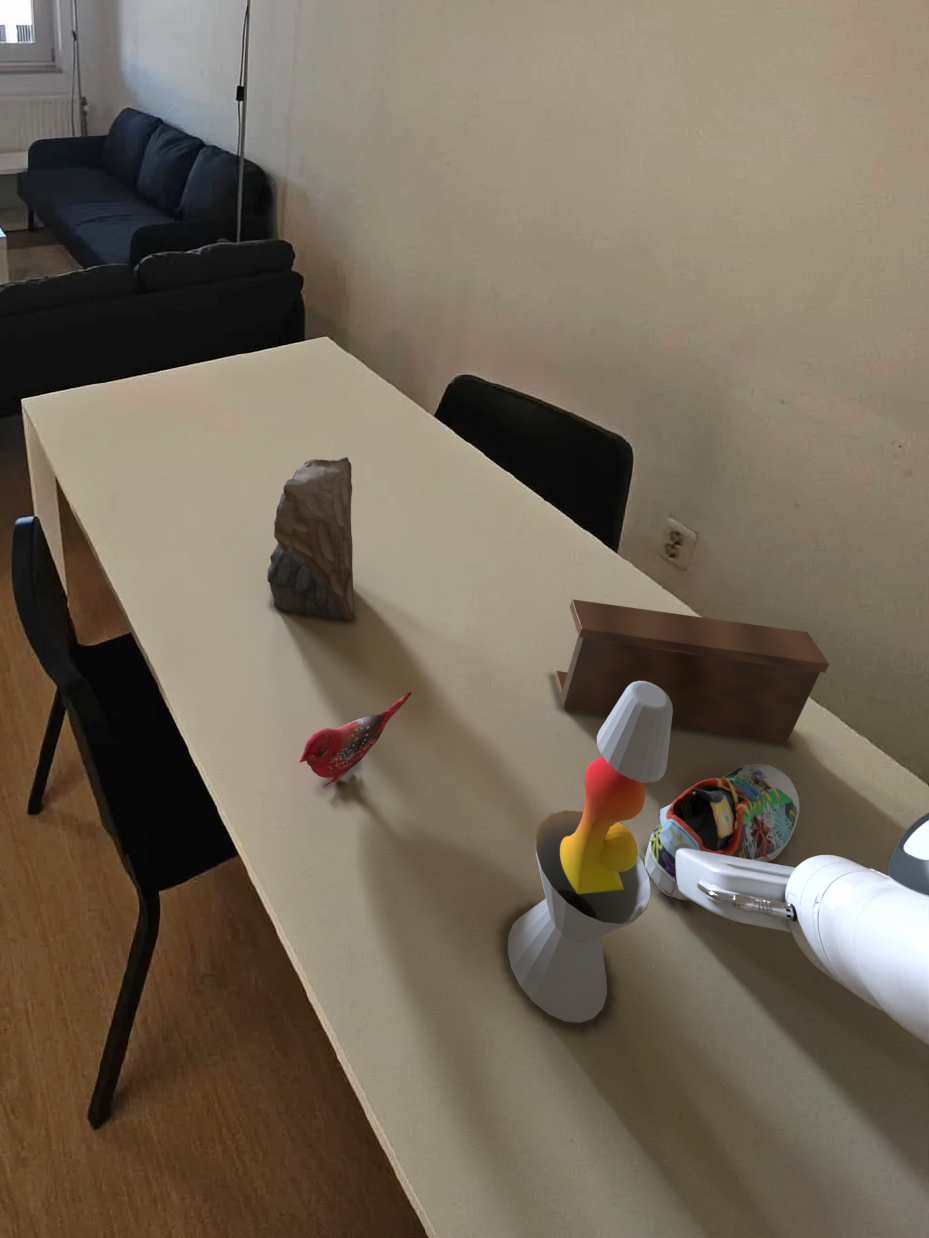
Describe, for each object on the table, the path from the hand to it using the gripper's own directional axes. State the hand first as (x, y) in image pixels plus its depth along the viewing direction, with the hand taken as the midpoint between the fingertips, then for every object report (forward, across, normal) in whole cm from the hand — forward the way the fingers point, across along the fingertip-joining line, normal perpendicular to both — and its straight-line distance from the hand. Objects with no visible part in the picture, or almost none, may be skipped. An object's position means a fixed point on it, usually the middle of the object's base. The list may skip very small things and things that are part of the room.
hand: (760, 871), depth 74 cm
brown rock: (+27, -45, +20) cm, 56 cm away
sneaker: (+8, 0, +1) cm, 8 cm away
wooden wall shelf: (+19, 0, +12) cm, 23 cm away
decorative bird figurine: (+9, -39, +1) cm, 40 cm away
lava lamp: (-3, -20, -10) cm, 22 cm away
